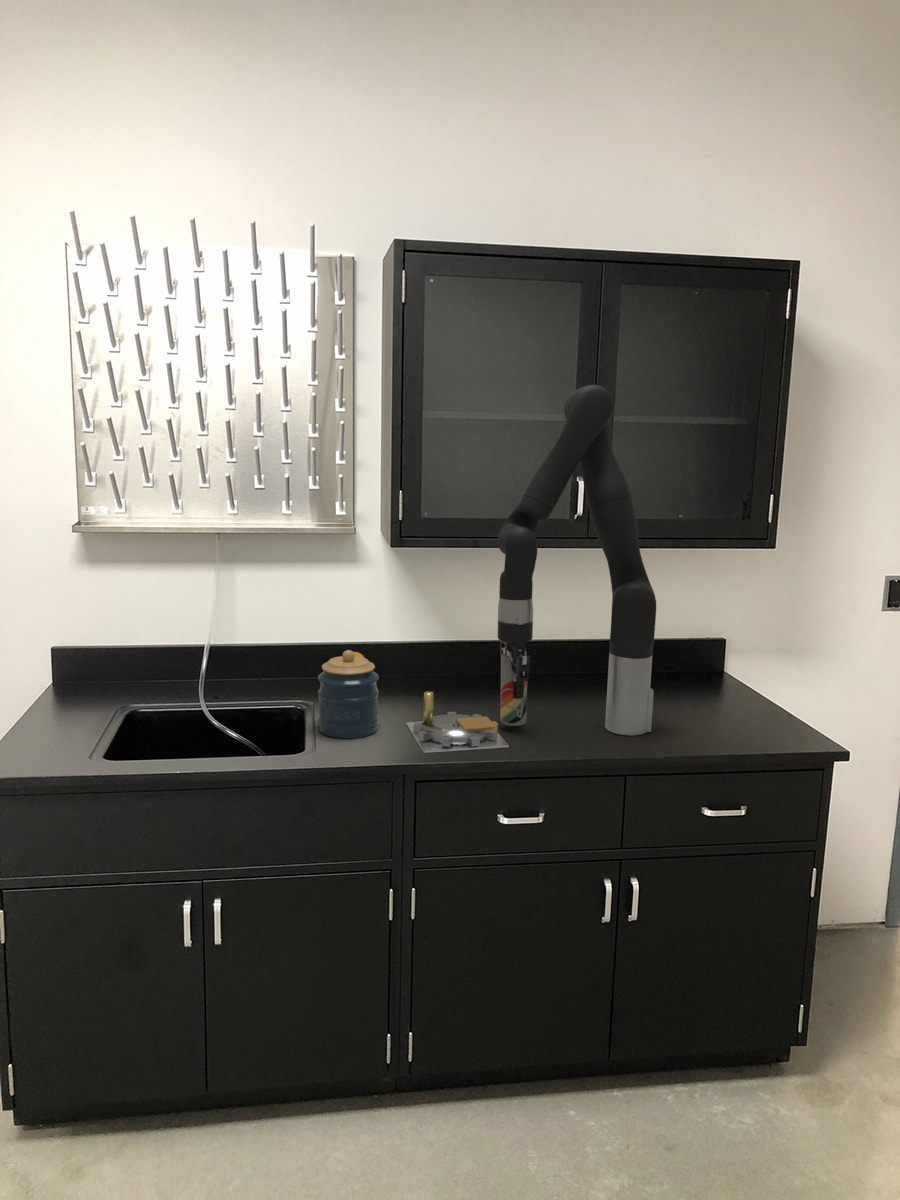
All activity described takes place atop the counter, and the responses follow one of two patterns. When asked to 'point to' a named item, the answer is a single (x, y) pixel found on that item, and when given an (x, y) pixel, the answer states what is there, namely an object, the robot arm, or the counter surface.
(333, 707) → the canister
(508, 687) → the lotion bottle
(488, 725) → the sprocket
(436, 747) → the base plate
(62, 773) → the counter surface
